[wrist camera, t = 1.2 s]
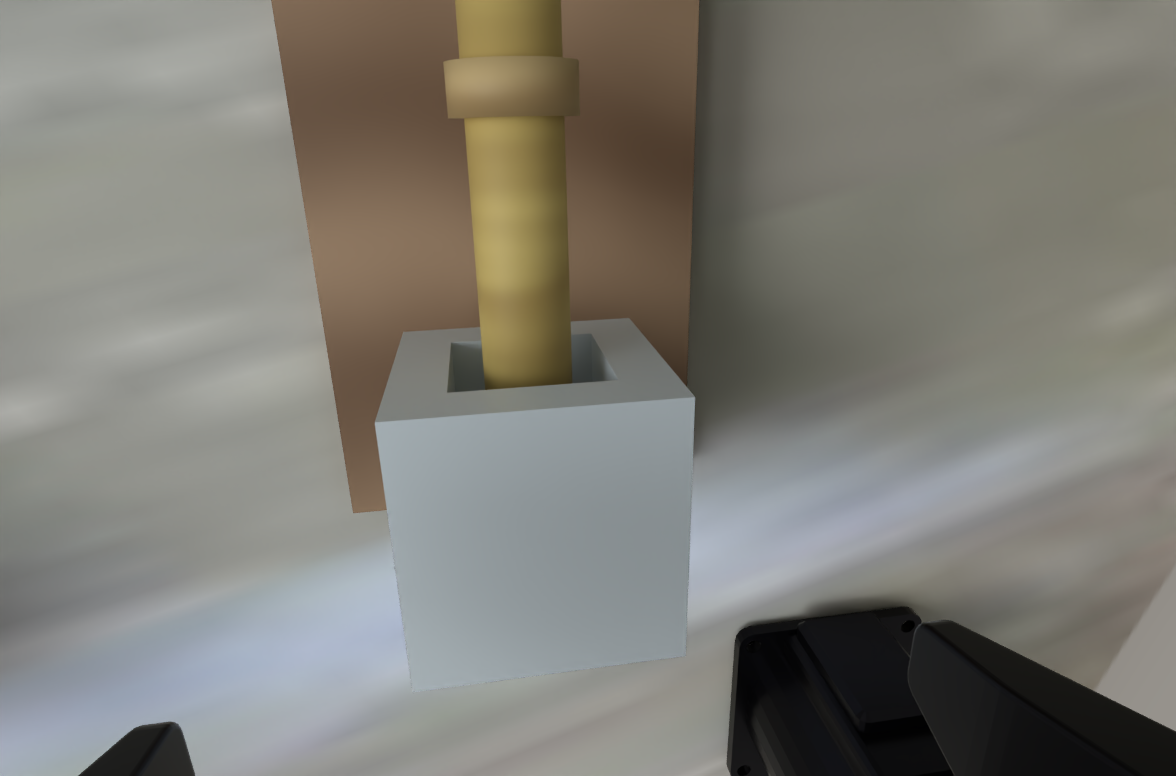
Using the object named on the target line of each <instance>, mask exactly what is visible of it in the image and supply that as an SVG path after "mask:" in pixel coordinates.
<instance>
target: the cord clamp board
mask: <svg viewBox="0 0 1176 776" xmlns="http://www.w3.org/2000/svg"><path fill="white" fill-rule="evenodd" d="M271 1H272V8H273V14H274V20H275V26H276V33H277V39H278V45H279V51H280V58H281V64H282V70H283V76H284V83H285V89H286V95H287V101H288V108H289V114H290V120H291V126H292V133H293V139H294V145H295V151H296V158H297V164H298V170H299V177H300V183H301V189H302V195H303V202H304V208H305V214H306V220H307V227H308V233H309V239H310V245H311V252H312V258H313V264H314V270H315V277H316V283H317V289H318V295H319V302H320V308H321V314H322V320H323V327H324V333H325V339H326V345H327V352H328V358H329V364H330V370H331V377H332V383H333V389H334V396H335V402H336V408H337V414H338V421H339V427H340V433H341V439H342V446H343V452H344V458H345V464H346V471H347V477H348V483H349V489H350V496H351V502H352V508H353V513H360V512H371V511H381V510H387V507H386V500H385V493H384V486H383V479H382V471H381V464H380V457H379V450H378V443H377V436H376V429H375V420H376V417H377V413H378V410H379V407H380V404H381V401H382V398H383V395H384V391H385V388H386V385H387V382H388V379H389V376H390V372H391V369H392V366H393V363H394V360H395V357H396V353H397V350H398V347H399V344H400V341H401V338H402V334H403V332H410V331H426V330H442V329H458V328H475V327H480V330H481V343H482V356H483V369H484V382H485V390H491V389H505V388H518V387H532V386H545V385H559V384H572V351H571V322H572V321H588V320H604V319H620V318H630V320H631V321H632V322H633V323H634V324H635V326H636V327H637V328H638V329H639V330H640V332H641V333H642V334H643V335H644V336H645V338H646V339H647V340H648V341H649V342H650V344H651V345H652V346H653V347H654V348H655V350H656V351H657V352H658V353H659V354H660V356H661V357H662V358H663V359H664V360H665V362H666V363H667V364H668V365H669V366H670V368H671V369H672V370H673V371H674V372H675V374H676V375H677V376H678V377H679V378H680V379H681V381H682V382H683V383H684V384H685V385H686V387H687V369H688V338H689V307H690V276H691V244H692V213H693V182H694V150H695V119H696V88H697V57H698V25H699V0H271Z"/></svg>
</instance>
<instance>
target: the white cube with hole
mask: <svg viewBox="0 0 1176 776" xmlns="http://www.w3.org/2000/svg"><path fill="white" fill-rule="evenodd" d="M571 351H572V384H559V385H545V386H532V387H518V388H505V389H491V390H485V382H484V369H483V356H482V343H481V330H480V327H475V328H458V329H442V330H426V331H410V332H403V334H402V338H401V341H400V344H399V347H398V350H397V353H396V357H395V360H394V363H393V366H392V369H391V372H390V376H389V379H388V382H387V385H386V388H385V391H384V395H383V398H382V401H381V404H380V407H379V410H378V413H377V417H376V420H375V429H376V436H377V443H378V450H379V457H380V464H381V471H382V479H383V486H384V493H385V500H386V507H387V514H388V521H389V529H390V536H391V543H392V550H393V557H394V564H395V571H396V579H397V586H398V593H399V600H400V607H401V614H402V621H403V629H404V636H405V643H406V650H407V657H408V664H409V671H410V679H411V686H412V692H419V691H427V690H434V689H442V688H449V687H457V686H464V685H472V684H479V683H487V682H494V681H502V680H509V679H517V678H524V677H532V676H539V675H547V674H554V673H562V672H569V671H577V670H584V669H592V668H600V667H607V666H615V665H622V664H630V663H637V662H645V661H652V660H660V659H667V658H675V657H682V656H686V634H687V607H688V580H689V552H690V525H691V498H692V470H693V443H694V416H695V396H694V395H693V394H692V393H691V391H690V390H689V389H688V388H687V387H686V385H685V384H684V383H683V382H682V381H681V379H680V378H679V377H678V376H677V375H676V374H675V372H674V371H673V370H672V369H671V368H670V366H669V365H668V364H667V363H666V362H665V360H664V359H663V358H662V357H661V356H660V354H659V353H658V352H657V351H656V350H655V348H654V347H653V346H652V345H651V344H650V342H649V341H648V340H647V339H646V338H645V336H644V335H643V334H642V333H641V332H640V330H639V329H638V328H637V327H636V326H635V324H634V323H633V322H632V321H631V320H630V318H620V319H604V320H588V321H572V322H571Z"/></svg>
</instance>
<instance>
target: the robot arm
mask: <svg viewBox="0 0 1176 776" xmlns="http://www.w3.org/2000/svg"><path fill="white" fill-rule="evenodd" d="M905 621H906V622H905ZM904 622H905V623H904ZM903 623H904V624H903ZM754 640H755V642H754V643H753V644H750V645H747V644H749V643H750V642H751V641H754ZM727 767H728V770H729V772H730V775H731V776H1176V731H1174V730H1172V729H1170V728H1168V727H1166V726H1164V725H1162V724H1159V723H1158V722H1155V721H1153V720H1151V719H1149V718H1147V717H1145V716H1143V715H1141V714H1139V713H1137V712H1135V711H1133V710H1131V709H1129V708H1127V707H1125V706H1123V705H1121V704H1119V703H1117V702H1115V701H1113V700H1111V699H1109V698H1107V697H1105V696H1103V695H1101V694H1099V693H1097V692H1095V691H1093V690H1091V689H1089V688H1087V687H1085V686H1083V685H1081V684H1079V683H1077V682H1075V681H1073V680H1071V679H1069V678H1067V677H1065V676H1063V675H1060V674H1058V673H1056V672H1054V671H1052V670H1050V669H1048V668H1046V667H1044V666H1042V665H1040V664H1038V663H1036V662H1034V661H1032V660H1030V659H1028V658H1026V657H1024V656H1022V655H1020V654H1018V653H1016V652H1014V651H1012V650H1010V649H1008V648H1006V647H1004V646H1002V645H1000V644H998V643H996V642H994V641H992V640H990V639H988V638H986V637H984V636H982V635H980V634H978V633H976V632H974V631H972V630H969V629H967V628H965V627H963V626H961V625H959V624H957V623H955V622H953V621H949V620H941V621H933V622H925V623H922V624H921V619H920V617H919V616H918V615H917V614H916V613H915V612H914V611H913V610H912V609H911V608H909V607H897V608H890V609H882V610H874V611H866V612H859V613H851V614H843V615H835V616H827V617H820V618H812V619H804V620H796V621H789V622H781V623H773V624H765V625H757V626H750V627H747V628H744V629H742V630H741V631H740V632H739V633H738V634H737V635H736V639H735V647H734V662H733V677H732V692H731V706H730V721H729V736H728V751H727ZM78 776H195V773H194V769H193V766H192V762H191V759H190V755H189V752H188V749H187V745H186V742H185V739H184V735H183V732H182V730H181V727H180V726H179V725H178V724H177V723H175V722H164V723H156V724H149V725H142V726H139V727H136V728H134V729H133V730H131V731H130V732H129V733H128V734H126V735H125V736H124V737H123V738H122V739H121V740H119V741H118V742H117V743H116V744H115V745H114V746H112V747H111V748H110V749H109V750H108V751H106V752H105V753H104V754H103V755H102V756H101V757H99V758H98V759H97V760H96V761H95V762H94V763H92V764H91V765H90V766H89V767H88V768H87V769H85V770H84V771H83V772H82V773H81V774H80V775H78Z"/></svg>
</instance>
